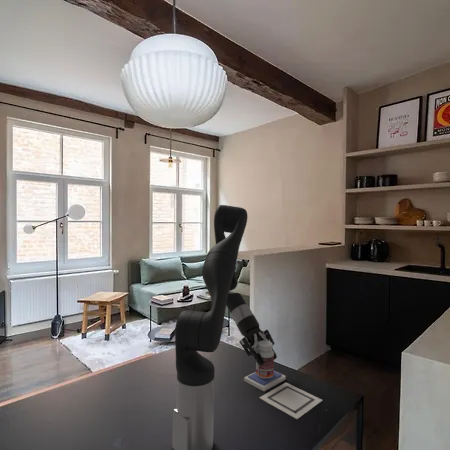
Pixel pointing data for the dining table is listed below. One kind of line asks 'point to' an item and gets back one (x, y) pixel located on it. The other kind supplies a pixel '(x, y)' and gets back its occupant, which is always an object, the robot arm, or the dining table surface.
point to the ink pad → (264, 380)
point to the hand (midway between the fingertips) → (268, 361)
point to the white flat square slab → (291, 400)
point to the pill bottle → (265, 360)
